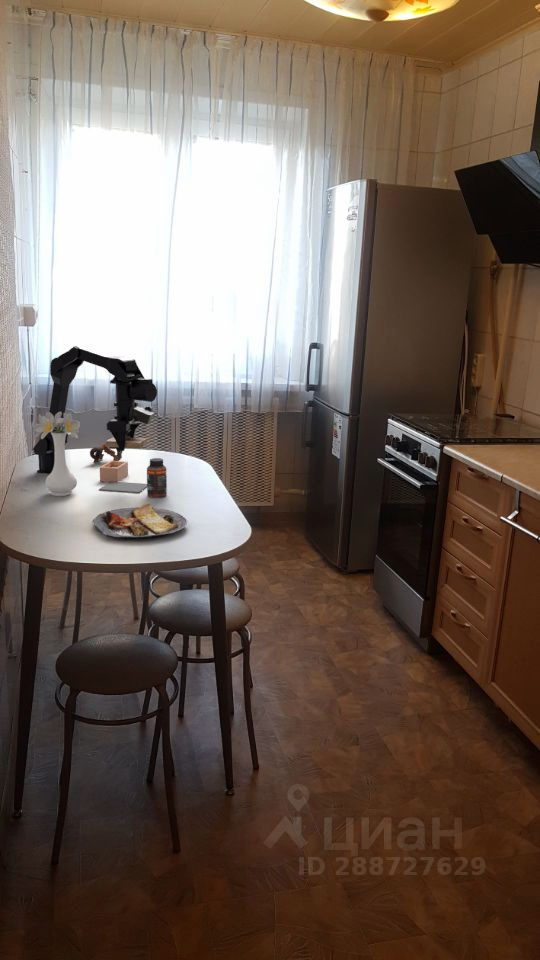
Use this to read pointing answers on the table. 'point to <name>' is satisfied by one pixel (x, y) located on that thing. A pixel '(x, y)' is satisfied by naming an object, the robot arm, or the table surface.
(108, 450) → the dark brown looped piece
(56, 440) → the flower vase
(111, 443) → the lid
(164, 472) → the supplement bottle
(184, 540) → the table surface
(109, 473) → the dish
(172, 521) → the food plate
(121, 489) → the mat
